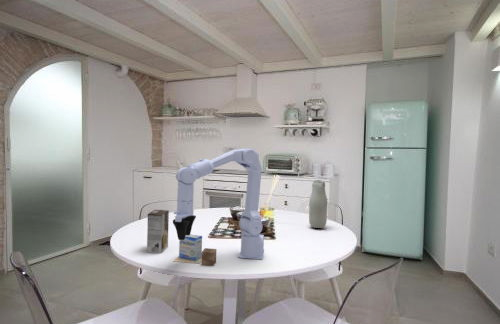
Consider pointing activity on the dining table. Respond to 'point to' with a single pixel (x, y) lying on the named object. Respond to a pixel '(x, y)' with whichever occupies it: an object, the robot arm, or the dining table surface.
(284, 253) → the dining table surface
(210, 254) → the walnut cube
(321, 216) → the grey bottle
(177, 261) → the kraft envelope
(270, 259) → the dining table surface
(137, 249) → the dining table surface
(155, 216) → the coffee box
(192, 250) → the medicine box
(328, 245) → the dining table surface
